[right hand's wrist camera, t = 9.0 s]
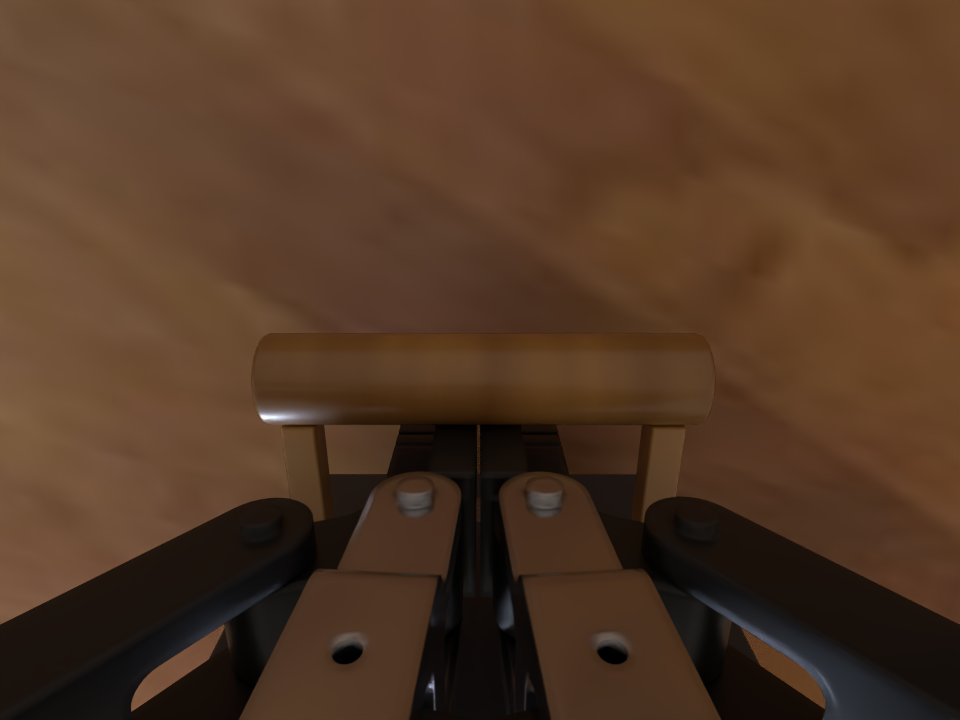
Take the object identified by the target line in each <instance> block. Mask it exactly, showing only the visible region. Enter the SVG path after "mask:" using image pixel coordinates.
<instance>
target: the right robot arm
mask: <svg viewBox="0 0 960 720" xmlns="http://www.w3.org/2000/svg"><path fill="white" fill-rule="evenodd" d="M476 520H477V425H401V426H400V430H399V435H398V437H397V441H396V446H395V448H394V452H393V455H392V459H391V462H390V466H389V469H388V473H387V477H386V480H384V481H382V482H381V483H379V484H378V485H377V486H376V487H375V488H374V489H373V490H372V492H371V494H370V496H369V498H368V501H367V503H366V505H365V507H364V508H362V509H360V510H358V511H356V512H354V513H351V514H348V515H344V516H340V517H336V518H331V519H326V520H321V521H316V522H314V520H313V514H312V512H311V510H310V509H309V507H308V506H306V505H305V504H304V503H301V502H299V501H296V500H293V499H287V498H267V499H261V500H256V501H252V502H249V503H246V504H243V505H241V506H238V507H236V508H234V509H232V510H230V511H228V512H226V513H224V514H222V515H220V516H218V517H216V518H214V519H212V520H210V521H208V522H206V523H204V524H202V525H200V526H198V527H196V528H194V529H192V530H190V531H188V532H186V533H184V534H182V535H180V536H178V537H176V538H174V539H172V540H170V541H168V542H166V543H164V544H162V545H160V546H158V547H156V548H154V549H152V550H150V551H148V552H146V553H144V554H142V555H139V556H137V557H135V558H133V559H131V560H129V561H127V562H125V563H123V564H121V565H119V566H117V567H115V568H113V569H111V570H109V571H107V572H105V573H103V574H101V575H99V576H97V577H95V578H93V579H91V580H89V581H87V582H85V583H83V584H81V585H79V586H77V587H75V588H73V589H71V590H69V591H67V592H65V593H63V594H61V595H59V596H57V597H55V598H53V599H51V600H49V601H47V602H45V603H43V604H41V605H39V606H37V607H35V608H33V609H31V610H29V611H27V612H25V613H23V614H21V615H19V616H17V617H15V618H13V619H11V620H9V621H7V622H5V623H3V624H1V625H0V720H473V719H468V718H464V717H460V716H456V715H453V713H454V705H455V697H456V689H457V682H458V674H459V666H460V658H461V650H462V643H463V597H476ZM480 597H493V613H494V617H495V620H496V622H497V643H498V650H499V658H500V666H501V674H502V682H503V689H504V697H505V705H506V713H507V715H504V716H500V717H496V718H492V719H487V720H960V625H959V624H957V623H955V622H953V621H951V620H949V619H947V618H945V617H943V616H941V615H939V614H937V613H935V612H933V611H931V610H929V609H927V608H925V607H923V606H921V605H919V604H917V603H915V602H913V601H911V600H909V599H907V598H905V597H903V596H901V595H899V594H897V593H895V592H893V591H891V590H889V589H887V588H885V587H883V586H881V585H879V584H877V583H875V582H873V581H871V580H869V579H867V578H865V577H863V576H861V575H859V574H857V573H855V572H853V571H851V570H849V569H847V568H845V567H843V566H841V565H839V564H837V563H835V562H833V561H831V560H829V559H827V558H824V557H822V556H820V555H818V554H816V553H814V552H812V551H810V550H808V549H806V548H804V547H802V546H800V545H798V544H796V543H794V542H792V541H790V540H788V539H786V538H784V537H782V536H780V535H778V534H776V533H774V532H772V531H770V530H768V529H766V528H764V527H762V526H760V525H758V524H756V523H754V522H752V521H750V520H748V519H746V518H744V517H742V516H740V515H738V514H736V513H734V512H732V511H730V510H728V509H726V508H724V507H722V506H720V505H717V504H715V503H712V502H709V501H706V500H702V499H698V498H691V497H670V498H664V499H661V500H658V501H656V502H654V503H653V504H651V505H650V506H649V507H648V508H647V510H646V512H645V517H644V523H643V522H638V521H633V520H628V519H624V518H619V517H615V516H611V515H607V514H605V513H602V512H599V511H597V509H596V507H595V505H594V503H593V500H592V498H591V496H590V494H589V492H588V490H587V489H586V488H585V487H584V486H583V485H582V484H581V483H579V482H578V481H576V480H574V479H573V478H570V476H569V472H568V469H567V465H566V461H565V457H564V454H563V450H562V446H561V442H560V439H559V435H558V431H557V427H556V425H480ZM732 622H734V623H735V624H737V625H739V626H740V627H742V628H743V629H745V630H746V631H748V632H749V633H751V634H752V635H754V636H756V637H757V638H759V639H760V640H762V641H763V642H765V643H766V644H768V645H770V646H771V647H773V648H774V649H776V650H777V651H779V652H780V653H782V654H783V655H785V656H787V657H788V658H790V659H791V660H793V661H794V662H796V663H797V664H799V665H800V666H802V667H803V668H804V669H805V670H806V671H807V672H809V673H810V675H811V676H812V677H813V678H814V679H815V680H816V682H817V683H818V685H819V686H820V688H821V690H822V692H823V695H824V698H825V705H826V706H825V709H823V708H822V707H820V706H819V705H817V704H816V703H814V702H813V701H811V700H810V699H809V698H807V697H806V696H804V695H803V694H801V693H800V692H798V691H797V690H795V689H794V688H792V687H791V686H789V685H788V684H786V683H785V682H783V681H782V680H781V679H779V678H778V677H776V676H775V675H773V674H772V673H770V672H769V671H767V670H766V669H764V668H763V667H761V666H760V665H758V664H757V663H756V662H754V661H753V660H751V659H750V658H748V657H747V656H745V655H744V654H742V653H741V652H739V651H738V650H736V649H735V648H733V647H732V646H731V645H729V644H728V639H729V634H730V629H731V623H732ZM223 624H224V627H225V632H226V637H227V642H228V647H227V648H225V649H224V650H222V651H221V652H219V653H218V654H216V655H215V656H213V657H212V658H210V659H209V660H207V661H206V662H204V663H203V664H201V665H200V666H199V667H197V668H196V669H194V670H193V671H191V672H190V673H188V674H187V675H185V676H184V677H182V678H181V679H179V680H178V681H176V682H175V683H174V684H172V685H171V686H169V687H168V688H166V689H165V690H163V691H162V692H160V693H159V694H157V695H156V696H154V697H153V698H151V699H150V700H149V701H147V702H146V703H144V704H143V705H141V706H140V707H138V708H137V709H135V710H134V711H132V712H131V702H132V698H133V696H134V693H135V691H136V689H137V688H138V686H139V685H140V683H141V682H142V681H143V679H144V678H145V677H146V676H147V675H148V674H149V673H150V672H152V671H153V670H154V669H155V668H157V667H158V666H159V665H161V664H163V663H164V662H166V661H167V660H169V659H170V658H172V657H173V656H175V655H177V654H178V653H180V652H181V651H183V650H184V649H186V648H187V647H189V646H190V645H192V644H194V643H195V642H197V641H198V640H200V639H201V638H203V637H204V636H206V635H207V634H209V633H211V632H212V631H214V630H215V629H217V628H218V627H220V626H221V625H223Z"/></svg>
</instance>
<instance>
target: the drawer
mask: <svg viewBox="0 0 960 720" xmlns="http://www.w3.org/2000/svg"><path fill="white" fill-rule="evenodd" d="M251 383H252V395H253V401H254V406H255V409H256V412H257V414H258V416H259V418H260V419H261V420H262V421H263V422H265V423H267V424H270V425H282V426H281V436H282V443H283V450H284V457H285V464H286V471H287V478H288V485H289V492H290V499H293V500H296V501H299V502H301V503H304V504H305V505H306V506H308V507H309V509H310V510H311V512H312V514H313V520H314V522H316V521H321V520H326V519H331V518H336V517H340V516H344V515H348V514H351V513H354V512H356V511H358V510H360V509H362V508H364V507H365V505H366V503H367V501H368V498H369V496H370V494H371V492H372V490H373V489H374V488H375V487H376V486H377V485H378V484H379V483H381V482H382V481H384V480H386V477H387V474H329V466H328V457H327V448H326V439H325V430H324V425H642V430H641V439H640V448H639V456H638V465H637V473H636V474H569V476H570V478H573V479H574V480H576V481H578V482H579V483H581V484H582V485H583V486H584V487H585V488H586V489H587V490H588V492H589V494H590V496H591V498H592V500H593V503H594V505H595V507H596V509H597V511H599V512H602V513H605V514H607V515H611V516H615V517H619V518H624V519H628V520H633V521H638V522H643V523H644V517H645V512H646V510H647V508H648V507H649V506H650V505H651V504H653V503H654V502H656V501H658V500H661V499H664V498H670V497H676V493H677V486H678V479H679V472H680V465H681V459H682V452H683V445H684V438H685V432H686V428H685V426H684V425H697V424H700V423H702V422H704V421H705V420H706V419H707V417H708V416H709V414H710V411H711V408H712V405H713V400H714V393H715V367H714V361H713V356H712V352H711V349H710V346H709V344H708V342H707V341H706V339H705V338H704V337H703V336H701V335H698V334H696V333H270V334H268V335H265V336H264V337H263V338H262V339H261V340H260V342H259V343H258V346H257V348H256V351H255V355H254V359H253V365H252V377H251ZM728 644H729V645H731V646H732V647H733V648H735V649H736V650H738V651H739V652H741V653H742V654H744V655H745V656H747V657H748V658H750V659H751V660H753V661H754V662H756V663H757V664H758V665H760V664H759V662H758V660H757V658H756V656H755V654H754V653H753V651H752V649H751V647H750V645H749V643H748V641H747V639H746V637H745V635H744V633H743V631H742V629H741V627H740V626H739V625H737V624H735V623H734V622H732V623H731V629H730V634H729V639H728ZM227 647H228V642H227V637H226V632H225V629H224V631H223V633H222V634H221V636H220V638H219V640H218V642H217V644H216V646H215V648H214V650H213V652H212V654H211V656H210V658H212V657H213V656H215V655H216V654H218V653H219V652H221V651H222V650H224V649H225V648H227ZM210 658H209V659H210ZM453 715H456V716H460V717H464V718H468V719H473V720H487V719H492V718H496V717H500V716H504V715H507V713H506V705H505V697H504V689H503V682H502V674H501V666H500V658H499V650H498V643H497V622H496V620H495V617H494V613H493V597H480V474H477V520H476V597H463V643H462V650H461V658H460V666H459V674H458V682H457V689H456V697H455V705H454V713H453Z"/></svg>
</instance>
